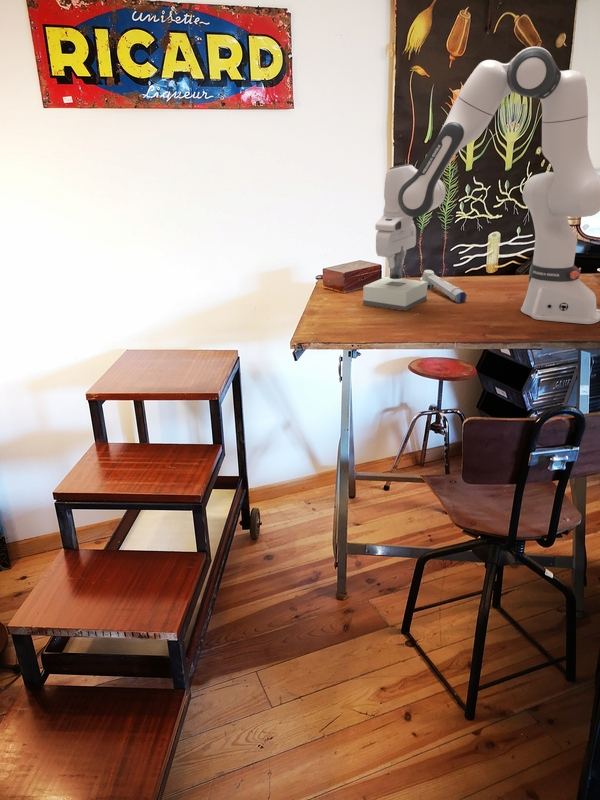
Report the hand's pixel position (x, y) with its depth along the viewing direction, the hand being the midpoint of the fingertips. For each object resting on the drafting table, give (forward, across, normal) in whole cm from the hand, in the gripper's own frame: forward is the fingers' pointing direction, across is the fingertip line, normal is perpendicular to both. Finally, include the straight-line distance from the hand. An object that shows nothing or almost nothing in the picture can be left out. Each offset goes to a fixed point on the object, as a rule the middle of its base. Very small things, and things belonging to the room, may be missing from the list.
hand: (396, 266), depth 190 cm
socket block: (+12, 0, 0) cm, 12 cm away
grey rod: (+12, -17, +8) cm, 23 cm away
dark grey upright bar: (+4, 0, 0) cm, 4 cm away
